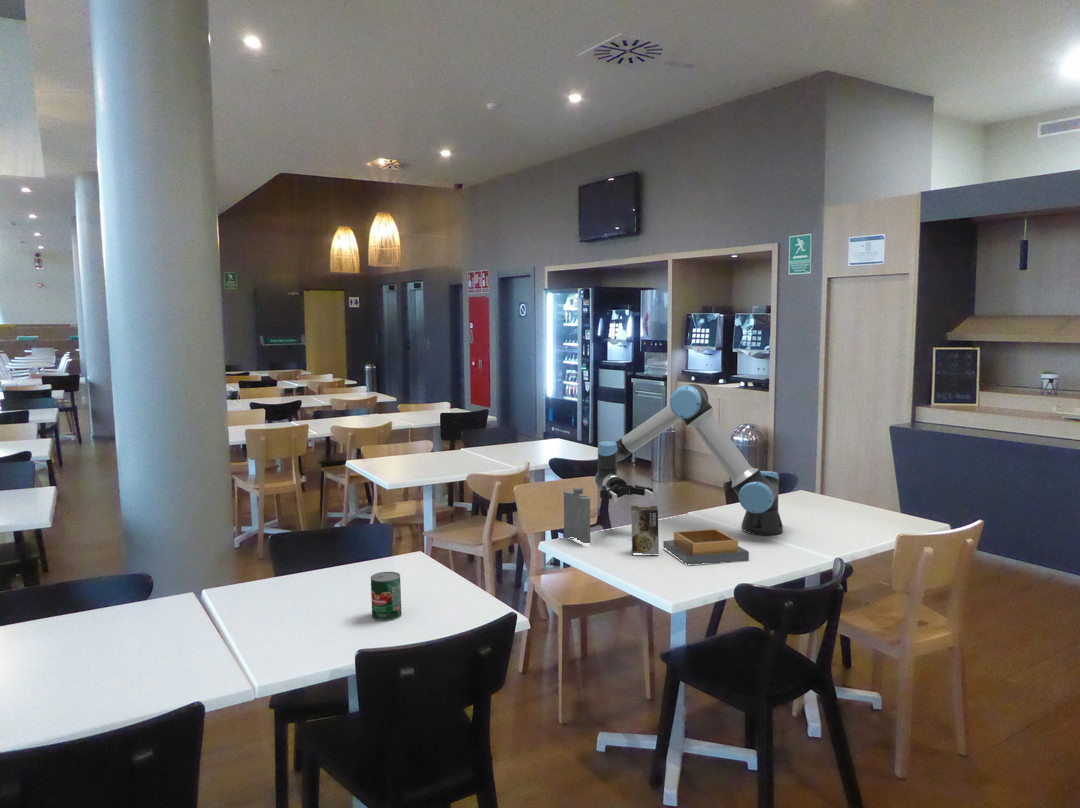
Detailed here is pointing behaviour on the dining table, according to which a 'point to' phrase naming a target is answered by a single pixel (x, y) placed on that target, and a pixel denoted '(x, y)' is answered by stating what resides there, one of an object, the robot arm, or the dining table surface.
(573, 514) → the hip flask
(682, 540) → the square framed tray
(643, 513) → the coffee box
